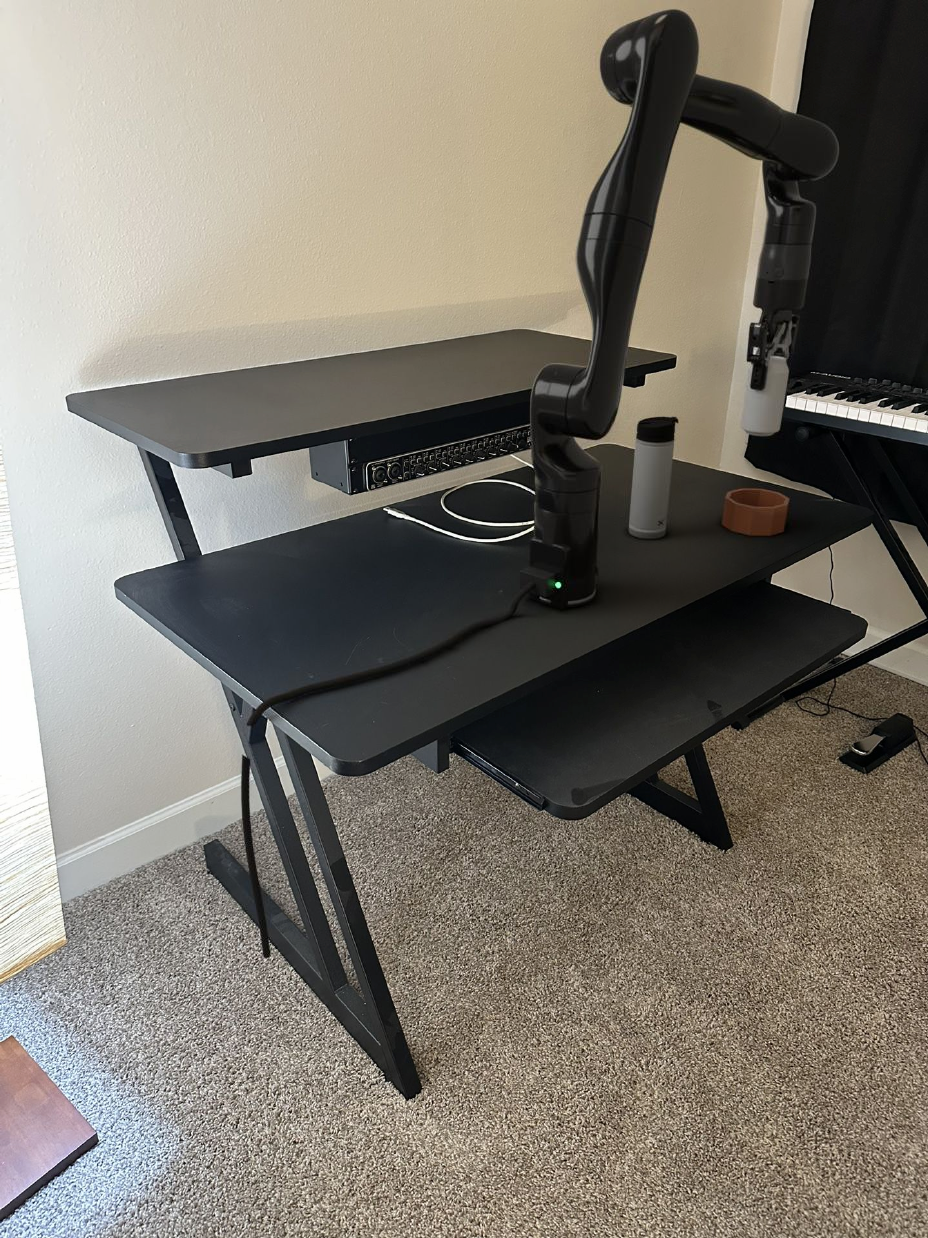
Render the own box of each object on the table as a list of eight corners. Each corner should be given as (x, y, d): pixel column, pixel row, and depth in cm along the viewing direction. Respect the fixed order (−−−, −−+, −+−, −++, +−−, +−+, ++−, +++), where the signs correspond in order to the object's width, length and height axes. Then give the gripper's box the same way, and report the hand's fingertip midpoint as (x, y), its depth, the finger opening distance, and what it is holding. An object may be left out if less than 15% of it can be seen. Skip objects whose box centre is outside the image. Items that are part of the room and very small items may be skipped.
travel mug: (670, 539, 152) (682, 422, 143) (631, 539, 152) (640, 422, 143) (663, 526, 158) (674, 413, 149) (626, 526, 158) (634, 413, 149)
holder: (771, 540, 151) (775, 512, 149) (711, 526, 158) (714, 499, 155) (795, 523, 158) (799, 496, 156) (737, 510, 165) (740, 484, 162)
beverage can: (752, 426, 152) (762, 353, 146) (786, 432, 148) (798, 358, 142) (732, 432, 148) (742, 357, 142) (767, 439, 144) (778, 362, 138)
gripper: (777, 270, 144) (762, 376, 151) (738, 276, 134) (724, 390, 141) (824, 273, 140) (806, 382, 147) (787, 280, 130) (770, 396, 137)
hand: (766, 385), depth 144 cm, fingers closed on beverage can, 6 cm apart
